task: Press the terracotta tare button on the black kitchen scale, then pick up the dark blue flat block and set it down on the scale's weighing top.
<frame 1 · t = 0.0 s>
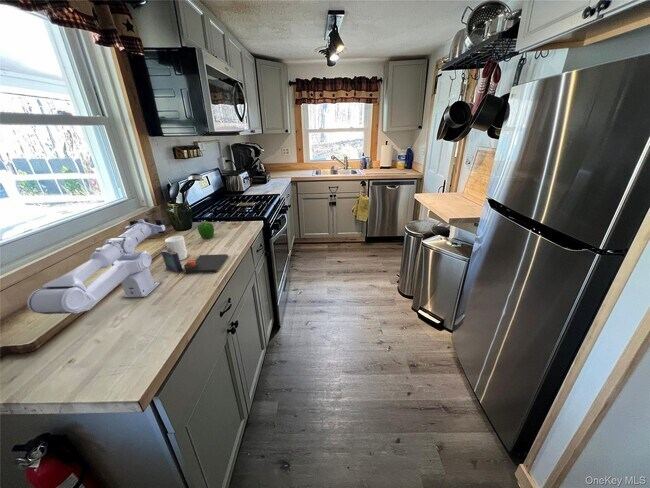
hand: (157, 220, 108), 22 cm above the counter, tool horizontal, fingers open, 7 cm apart
scale: (208, 264, 117), on the counter
tare button: (191, 263, 111), point 4 cm above the counter, slide at 0.1 cm
white cup: (179, 258, 124), on the counter
dark blue flat block: (175, 270, 113), on the counter
bell pepper: (208, 237, 148), on the counter
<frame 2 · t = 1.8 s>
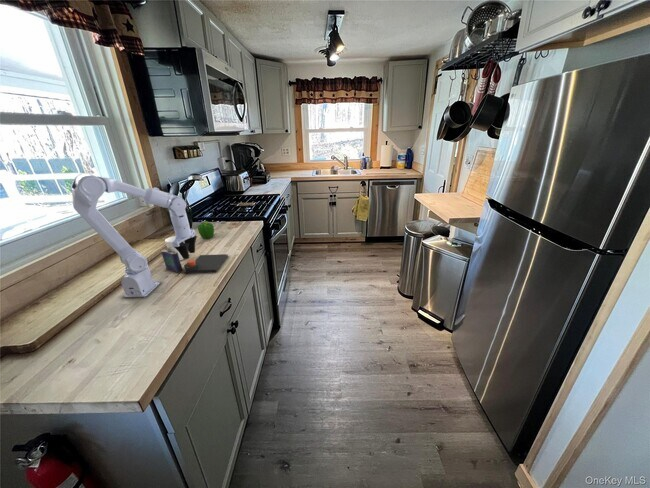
hand: (189, 255, 110), 7 cm above the counter, tool pointing down, fingers open, 5 cm apart
nothing on the counter moved.
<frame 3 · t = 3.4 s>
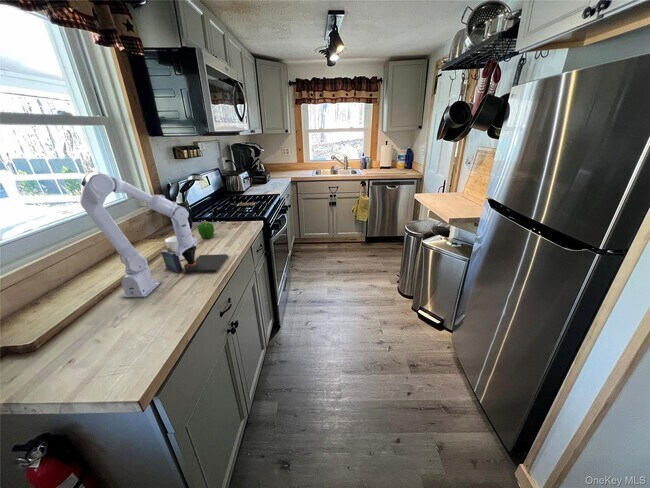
hand: (191, 263, 111), 3 cm above the counter, tool pointing down, fingers closed, pressing on tare button
tare button: (191, 265, 111), point 3 cm above the counter, slide at -0.9 cm, touching gripper
everything else where it was.
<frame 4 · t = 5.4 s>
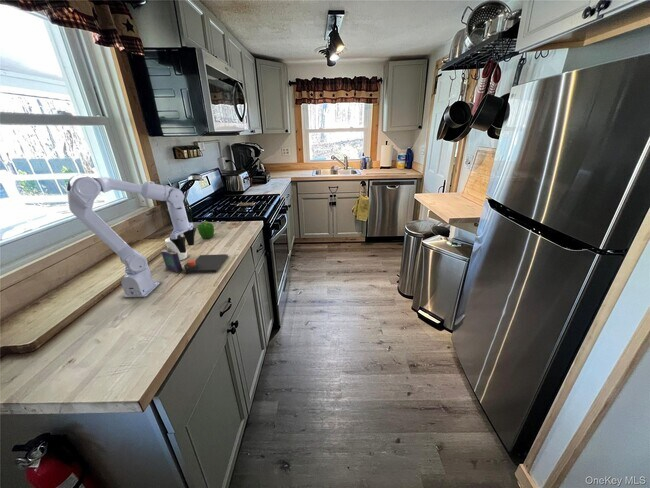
hand: (187, 248, 108), 10 cm above the counter, tool pointing down, fingers open, 7 cm apart
tare button: (191, 263, 111), point 4 cm above the counter, slide at 0.1 cm
everything else where it was.
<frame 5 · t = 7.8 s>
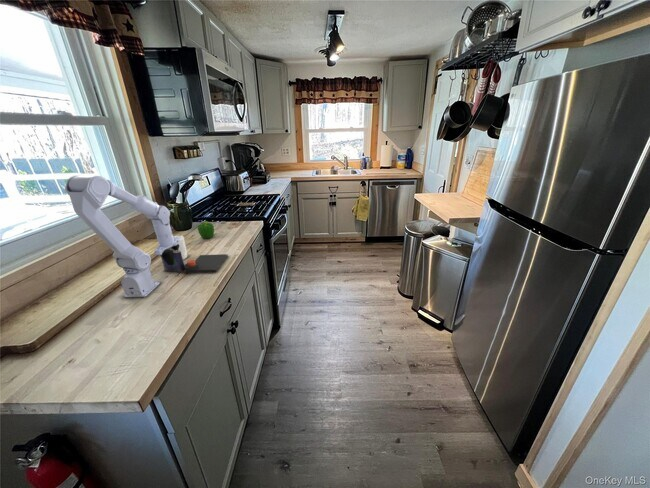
hand: (172, 263, 112), 3 cm above the counter, tool pointing down, fingers closed on dark blue flat block, 3 cm apart
dark blue flat block: (175, 270, 113), on the counter, touching gripper
everything else where it was.
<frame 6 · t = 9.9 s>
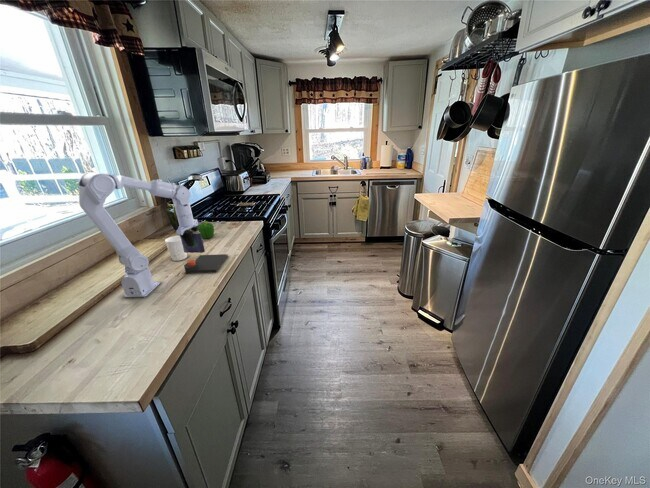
hand: (192, 244, 112), 10 cm above the counter, tool pointing down, fingers closed on dark blue flat block, 3 cm apart
dark blue flat block: (194, 252, 113), point 7 cm above the counter, touching gripper
everything else where it was.
when the fingers open (5 cm above the counter, at t = 12.4 s): dark blue flat block stays where it is, resting on scale.
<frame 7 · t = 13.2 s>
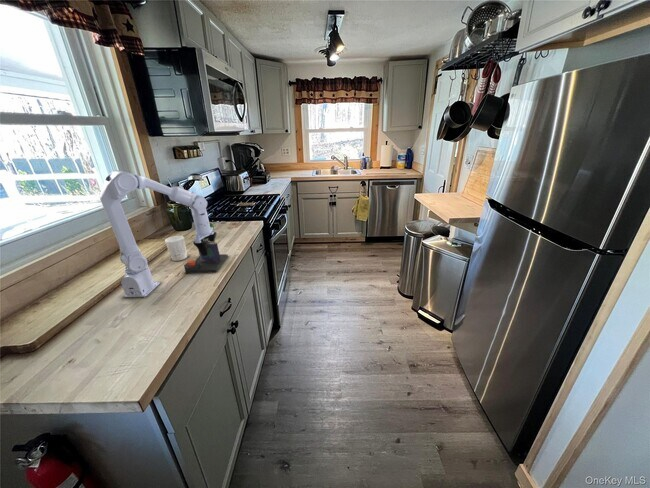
hand: (208, 251, 116), 6 cm above the counter, tool pointing down, fingers open, 7 cm apart
dark blue flat block: (211, 261, 117), point 1 cm above the counter, touching scale
everything else where it was.
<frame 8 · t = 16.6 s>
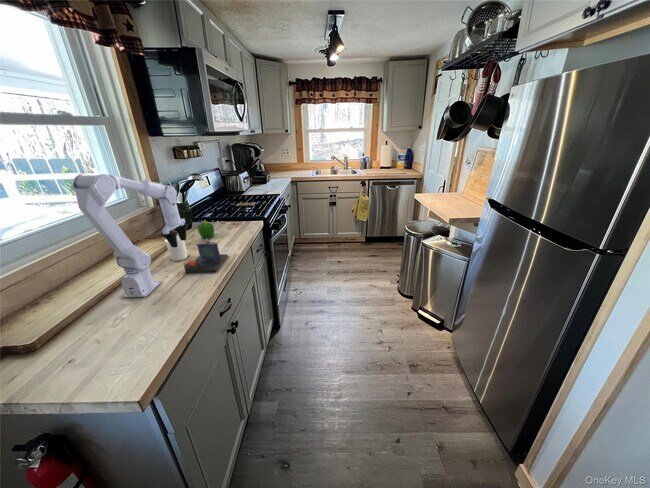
hand: (179, 243, 114), 10 cm above the counter, tool pointing down, fingers open, 7 cm apart
nothing on the counter moved.
at the end: tare button pushed in 1.0 cm at the most during the clip, back to where it started at the end; dark blue flat block inside the target area on the scale (0.9 cm from its centre), point 1.2 cm above the scale's base; dark blue flat block touching scale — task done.
